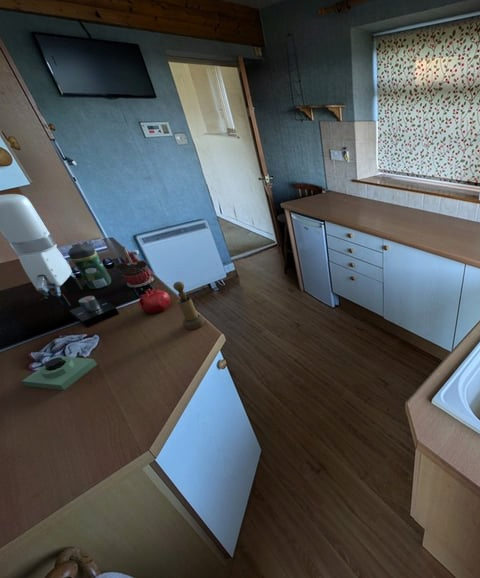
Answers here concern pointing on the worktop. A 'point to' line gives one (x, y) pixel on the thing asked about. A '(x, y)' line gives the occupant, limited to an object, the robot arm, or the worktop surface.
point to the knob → (89, 304)
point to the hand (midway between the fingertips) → (69, 298)
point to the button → (54, 363)
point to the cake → (135, 270)
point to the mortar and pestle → (188, 309)
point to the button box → (60, 374)
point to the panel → (95, 313)
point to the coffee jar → (90, 266)
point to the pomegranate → (154, 301)
